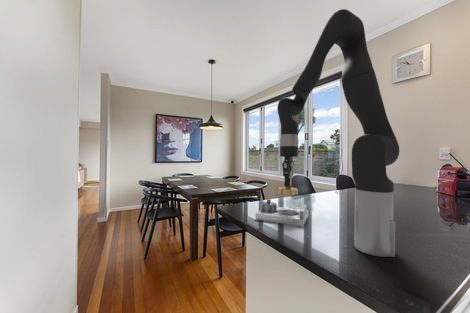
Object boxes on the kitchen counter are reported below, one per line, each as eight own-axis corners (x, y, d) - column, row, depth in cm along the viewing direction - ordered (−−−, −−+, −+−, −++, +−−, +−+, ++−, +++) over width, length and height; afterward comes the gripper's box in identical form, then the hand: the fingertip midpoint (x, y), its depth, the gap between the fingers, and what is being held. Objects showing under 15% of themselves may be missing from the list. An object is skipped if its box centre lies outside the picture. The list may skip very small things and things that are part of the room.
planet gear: (298, 193, 91) (299, 174, 91) (295, 196, 84) (296, 175, 84) (280, 191, 94) (281, 173, 94) (276, 194, 87) (276, 174, 87)
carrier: (308, 216, 93) (308, 199, 93) (303, 226, 78) (303, 207, 78) (266, 210, 101) (266, 195, 101) (254, 219, 87) (255, 201, 87)
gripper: (295, 144, 81) (294, 189, 81) (300, 146, 94) (299, 184, 94) (276, 144, 84) (275, 187, 84) (283, 146, 97) (282, 183, 97)
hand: (288, 185), depth 89 cm, fingers closed on planet gear, 3 cm apart
